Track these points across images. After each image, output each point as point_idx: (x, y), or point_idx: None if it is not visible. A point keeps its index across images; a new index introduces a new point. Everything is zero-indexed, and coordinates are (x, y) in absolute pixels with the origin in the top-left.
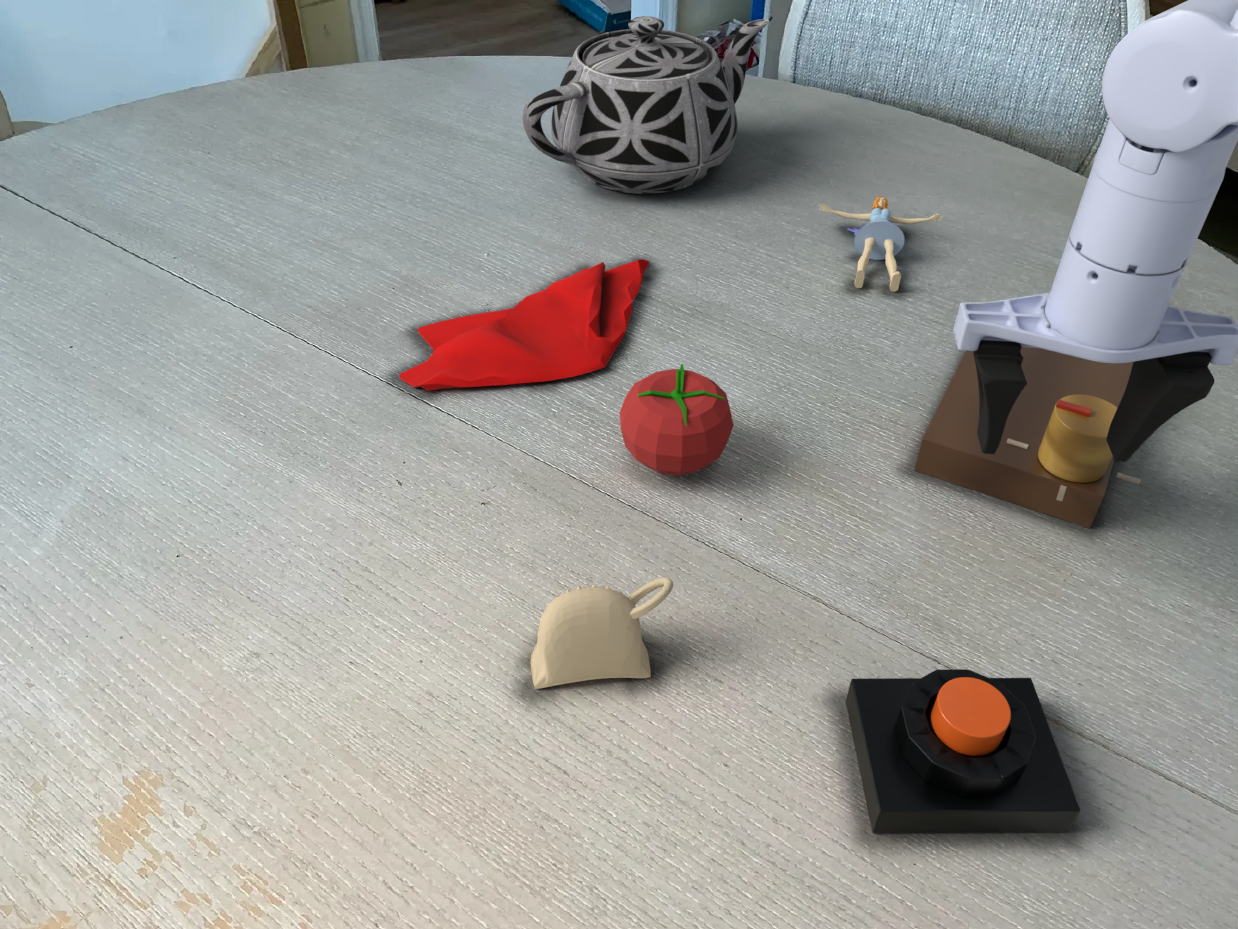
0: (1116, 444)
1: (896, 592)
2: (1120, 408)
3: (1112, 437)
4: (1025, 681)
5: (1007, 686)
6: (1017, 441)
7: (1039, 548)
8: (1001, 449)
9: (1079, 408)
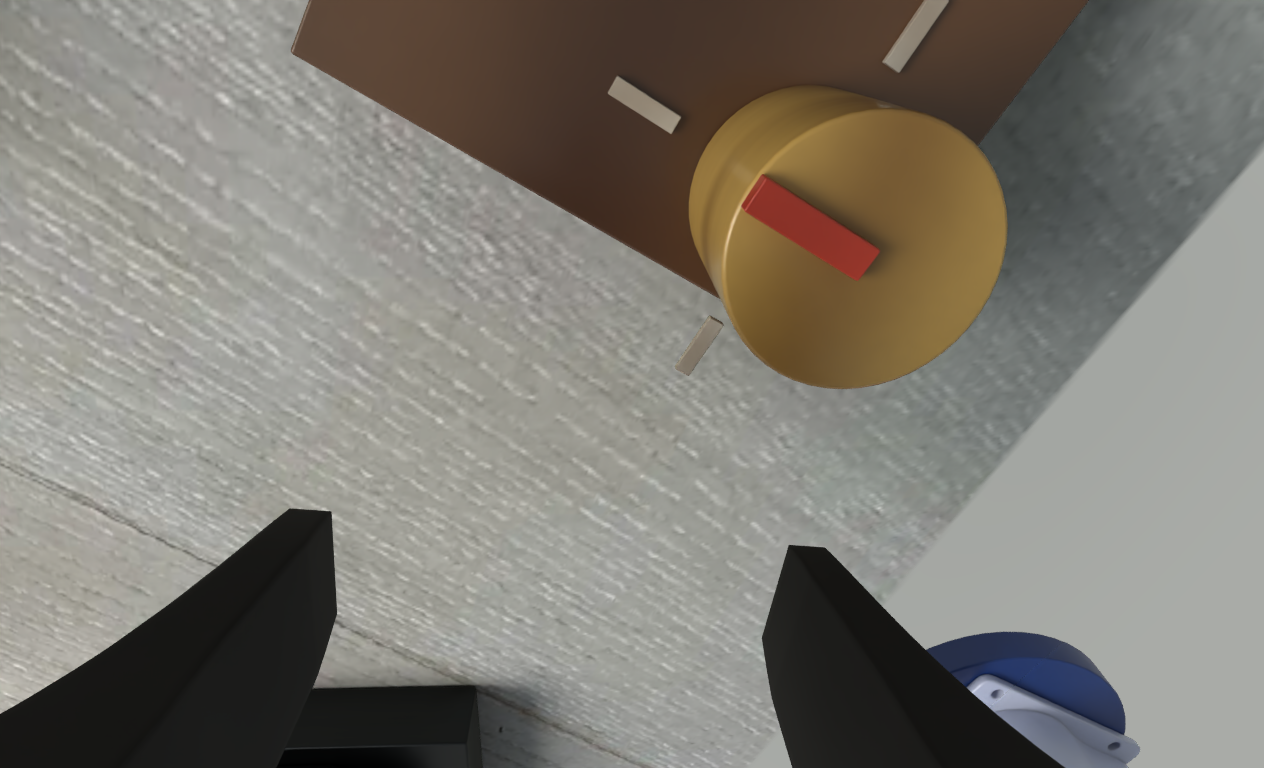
0: (782, 643)
1: (266, 483)
2: (844, 656)
3: (790, 604)
4: (453, 750)
5: (419, 757)
6: (647, 97)
7: (633, 366)
8: (578, 131)
9: (828, 249)
